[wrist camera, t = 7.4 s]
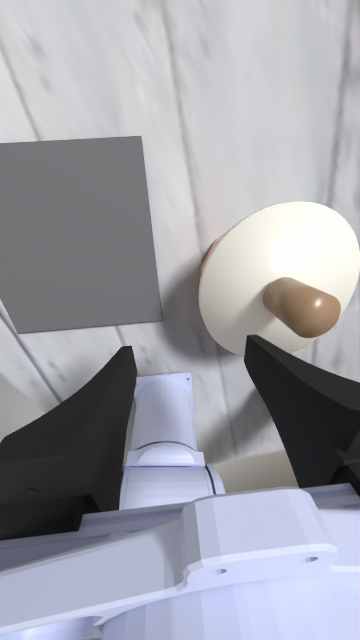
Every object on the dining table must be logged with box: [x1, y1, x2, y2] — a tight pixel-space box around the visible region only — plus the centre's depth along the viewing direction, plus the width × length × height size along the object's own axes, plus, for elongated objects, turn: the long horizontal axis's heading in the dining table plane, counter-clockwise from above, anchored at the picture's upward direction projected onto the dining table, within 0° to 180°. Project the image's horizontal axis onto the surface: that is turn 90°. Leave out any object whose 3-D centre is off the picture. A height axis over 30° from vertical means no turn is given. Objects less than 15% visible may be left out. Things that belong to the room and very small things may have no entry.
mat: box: [0, 136, 162, 333], centre depth 19 cm, size 16×16×1 cm
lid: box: [198, 202, 360, 357], centre depth 14 cm, size 13×13×5 cm
